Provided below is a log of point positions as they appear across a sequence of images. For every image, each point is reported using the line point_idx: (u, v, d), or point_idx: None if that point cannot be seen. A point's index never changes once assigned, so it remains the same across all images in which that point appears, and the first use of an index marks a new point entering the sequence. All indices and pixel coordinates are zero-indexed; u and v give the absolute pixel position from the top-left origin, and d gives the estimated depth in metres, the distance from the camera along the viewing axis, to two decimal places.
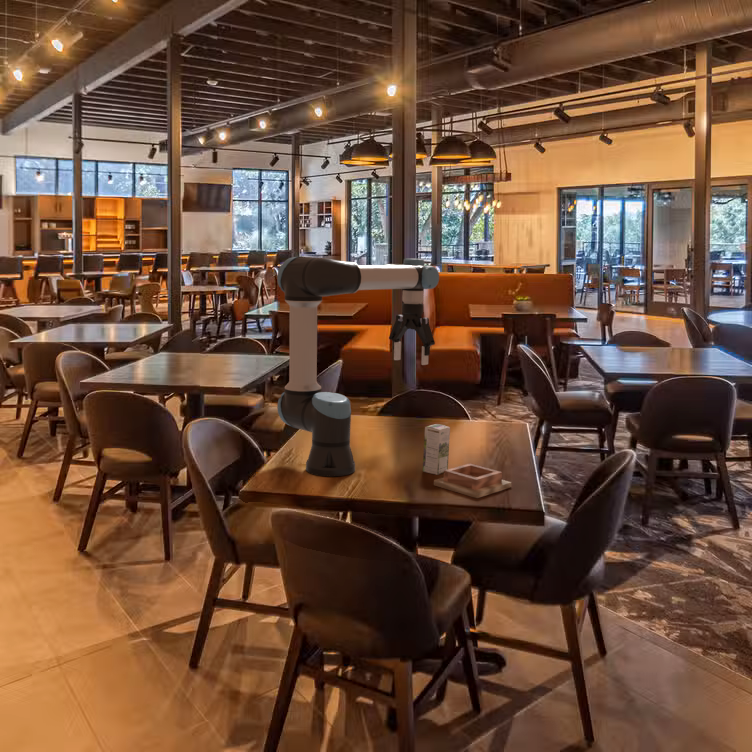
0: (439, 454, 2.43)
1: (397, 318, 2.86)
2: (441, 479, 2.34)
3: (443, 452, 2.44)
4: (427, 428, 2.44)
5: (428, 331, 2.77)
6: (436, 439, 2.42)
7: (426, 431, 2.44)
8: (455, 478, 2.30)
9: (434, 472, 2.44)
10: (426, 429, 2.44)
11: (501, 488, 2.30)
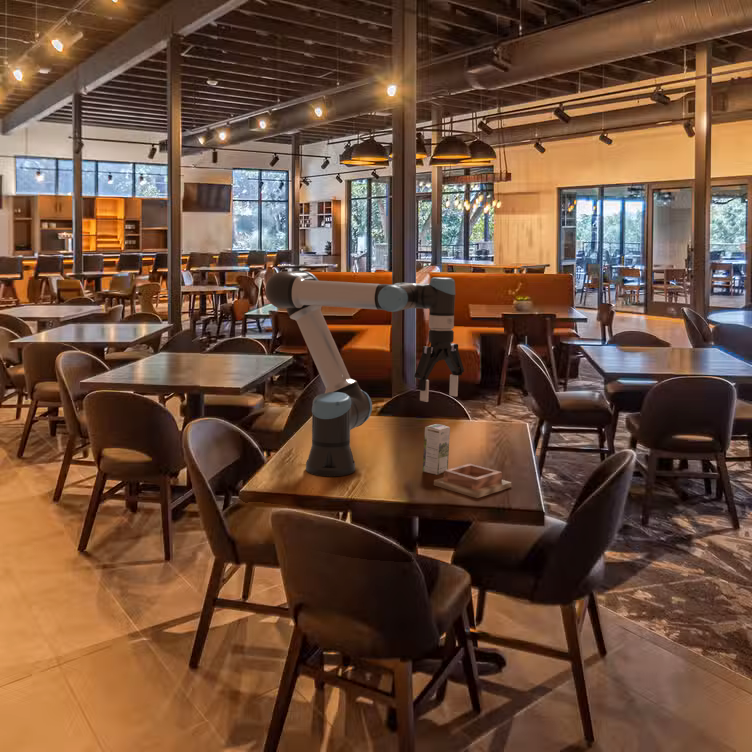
0: (439, 454, 2.43)
1: None
2: (441, 479, 2.34)
3: (443, 452, 2.44)
4: (427, 428, 2.44)
5: (421, 362, 2.36)
6: (436, 439, 2.42)
7: (426, 431, 2.44)
8: (455, 478, 2.30)
9: (434, 472, 2.44)
10: (426, 429, 2.44)
11: (501, 488, 2.30)
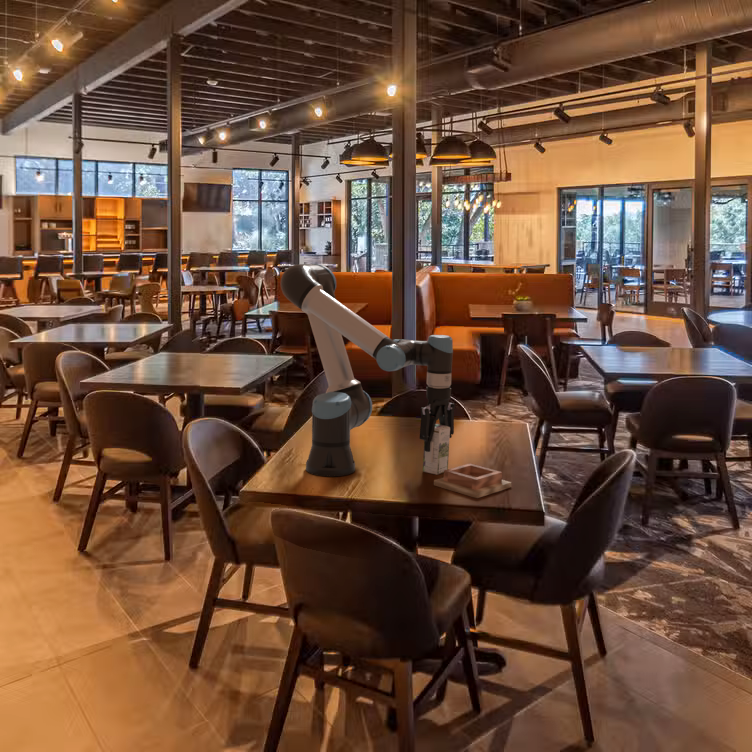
0: (439, 454, 2.43)
1: None
2: (441, 479, 2.34)
3: (443, 452, 2.44)
4: None
5: (422, 424, 2.41)
6: (436, 439, 2.42)
7: None
8: (455, 478, 2.30)
9: (434, 472, 2.44)
10: None
11: (501, 488, 2.30)
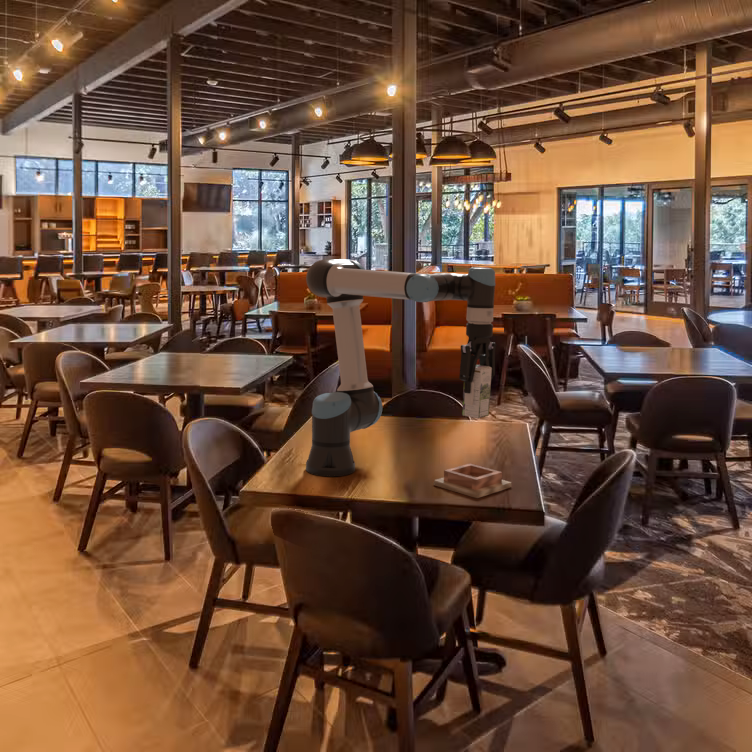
0: (480, 396, 2.26)
1: None
2: (441, 479, 2.34)
3: (485, 394, 2.27)
4: None
5: (463, 363, 2.23)
6: (477, 379, 2.25)
7: None
8: (455, 478, 2.30)
9: (475, 415, 2.27)
10: None
11: (501, 488, 2.30)
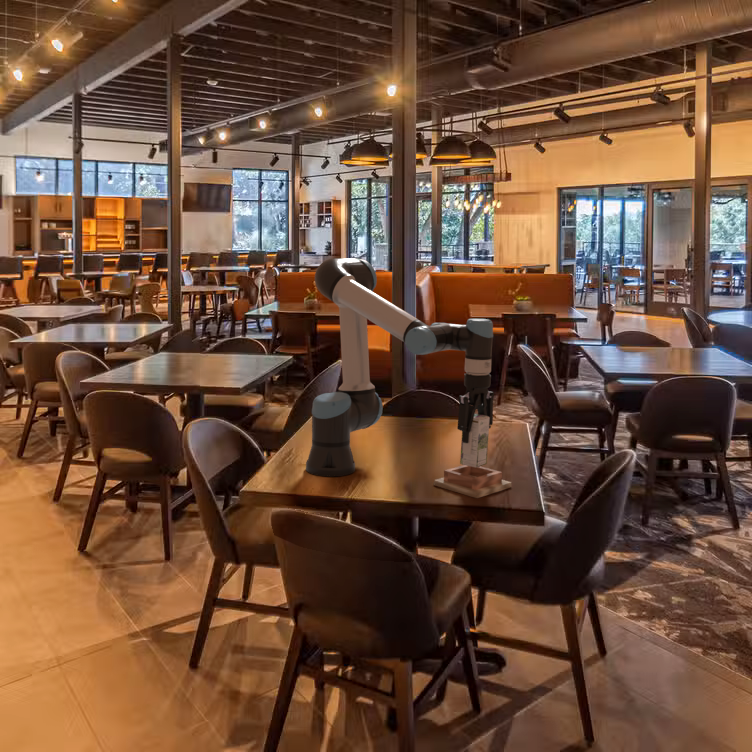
0: (478, 446, 2.28)
1: None
2: (441, 479, 2.34)
3: (482, 443, 2.29)
4: None
5: (461, 413, 2.25)
6: (475, 429, 2.27)
7: None
8: (455, 478, 2.30)
9: (473, 465, 2.29)
10: None
11: (501, 488, 2.30)
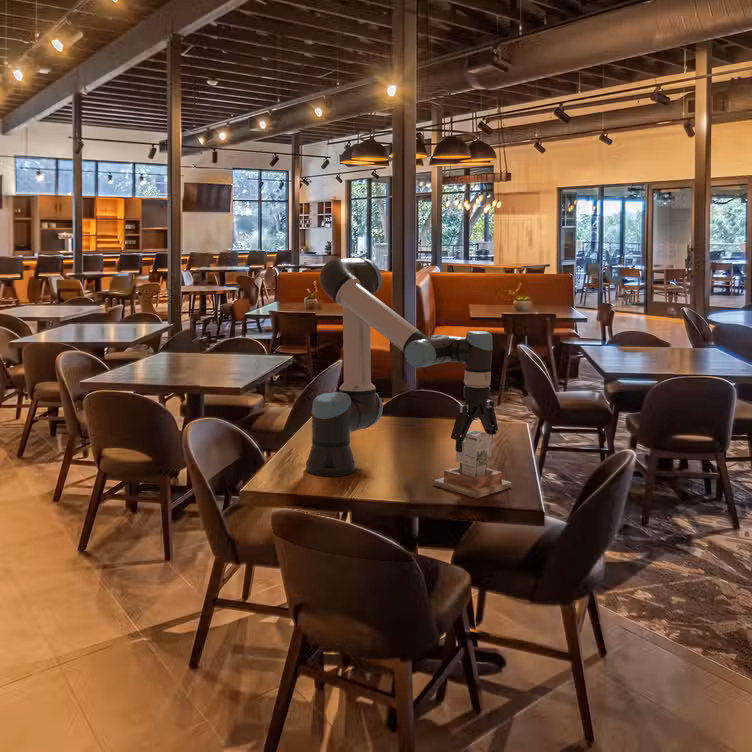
0: (477, 463, 2.29)
1: None
2: (441, 479, 2.34)
3: (481, 461, 2.30)
4: None
5: (457, 422, 2.25)
6: (474, 447, 2.28)
7: None
8: (455, 478, 2.30)
9: None
10: None
11: (501, 488, 2.30)
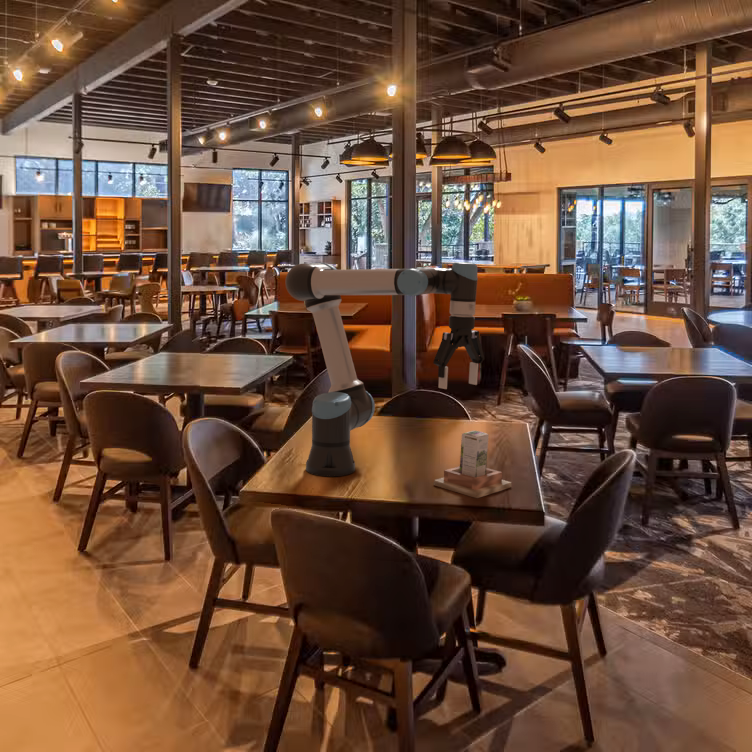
0: (477, 463, 2.29)
1: None
2: (441, 479, 2.34)
3: (481, 461, 2.30)
4: (464, 435, 2.30)
5: (441, 348, 2.31)
6: (474, 446, 2.28)
7: (463, 438, 2.30)
8: (455, 478, 2.30)
9: None
10: (463, 436, 2.30)
11: (501, 488, 2.30)
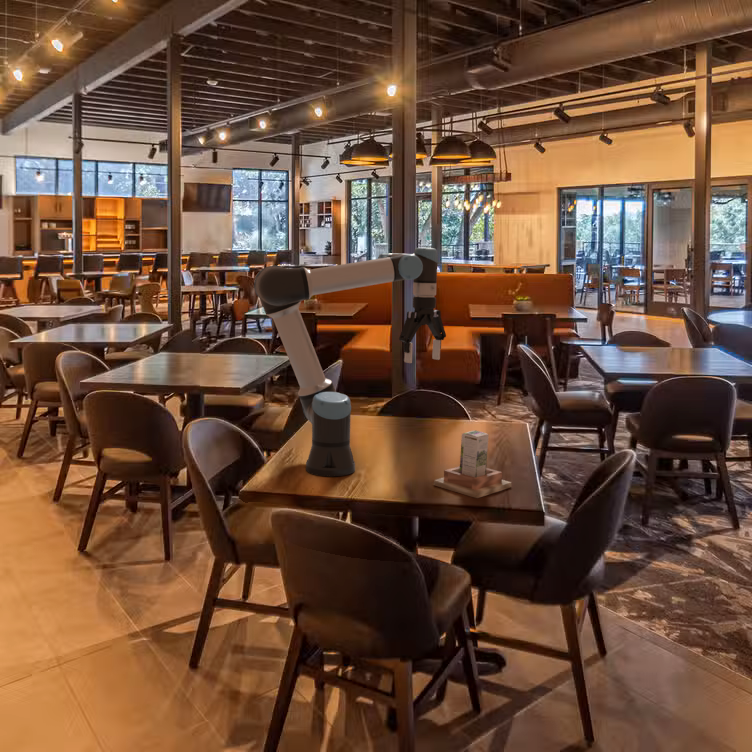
0: (477, 463, 2.29)
1: None
2: (441, 479, 2.34)
3: (481, 461, 2.30)
4: (464, 435, 2.30)
5: (405, 326, 2.54)
6: (474, 446, 2.28)
7: (463, 438, 2.30)
8: (455, 478, 2.30)
9: None
10: (463, 436, 2.30)
11: (501, 488, 2.30)
